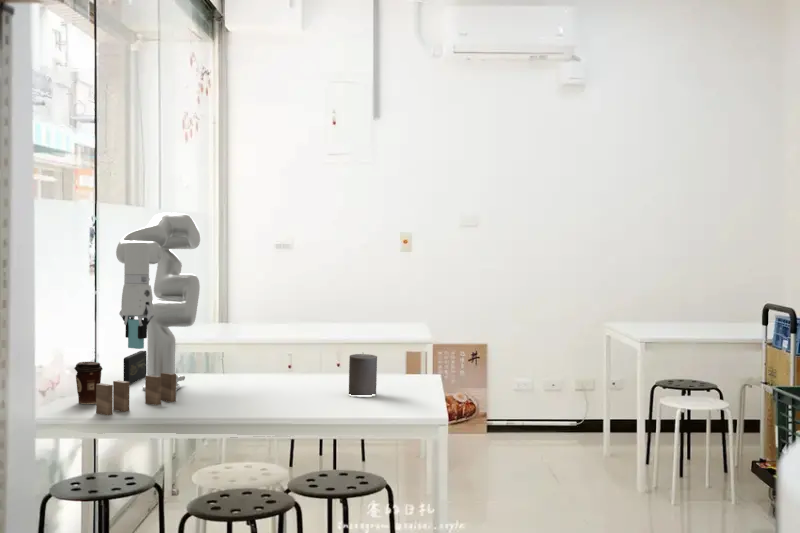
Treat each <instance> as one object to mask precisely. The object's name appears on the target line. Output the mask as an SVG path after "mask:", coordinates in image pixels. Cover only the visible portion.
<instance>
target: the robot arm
mask: <svg viewBox="0 0 800 533" xmlns="http://www.w3.org/2000/svg"><path fill="white" fill-rule="evenodd" d="M200 243H201V233H200V229H199V227H198V225H197V224H196V222H195V220H194V219H193V218H192V217H191V215H189V214H187V213H179V212H178V213H177V212H172V213H171V212H162V213H158V214H155V215H154V216H153V217H152V218H151V219H150V221H149V222H148V224H147V225H146V226H145V227H141V228H138V229H136V230H133V231H131V232H128V233H127V234H125V235H123V237H122V238H120V240H119V242H118V244H117V246H116V250H115V254H116V258H117V261H118V262H120V263H121V264H123V265H124V268H123V270H124V274H123V276H124V277H123V278H124V279H123V280H124V281H123V282H124V284H123V288H122V294H121V306H120V308H121V309H120V311H119V313H118V314H119V316H120V317H121V319H122V320H123V325H124V326H125V335H124V336H125V338H127V339H128V329H129V325H128V319H135V317H137V319H138V320H139V325H140V326H138V339H144V340H145V339H147V359H146V376H147V375H154V376H161V373H173V374H176V337H175V335H174V333H173V331H171V329H170V328H173V327H175V328H176V327H177V328H179V327H181V328H182V327H184V328H186V327H187V328H188V327H192V326H193V325H194V324H195V322H196V318H197V311H198V305H199V298H200V297H199V296H200V288H201V286H200V281H199V278H198V276H197V275H196V274H193V273H187V272H186V273H185V272H183V273H182V267H183V264H182V261H181V260H180V257H178V256H177V254H176V253H174V252H173V251H172V250H196V249H197V248H198V247H199V246H200ZM150 265H156V272H155V278H154V284H153V285H154V286H153V291H152V286H151V284H150V278H151V277H150ZM153 293H154V296H155V297H156V298H158V299H154V298H153ZM185 379H186V376H185V375H184V374H181V375H178V374H176V391H177V390H179V389H180V387H181V386H180V384H179V383H178V382H182V381H185ZM142 390H143V391H145V384H144V385H143V386H142Z"/></svg>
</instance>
